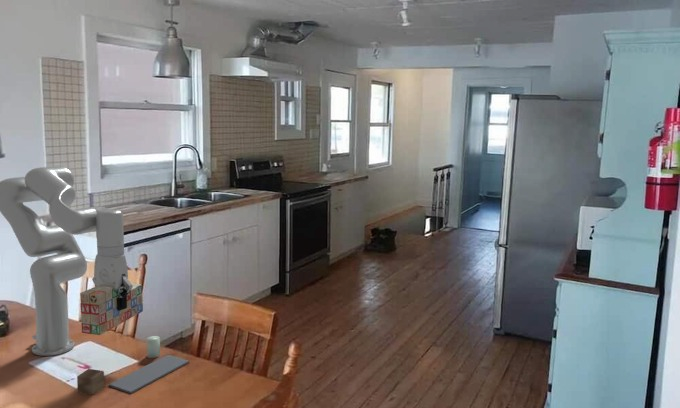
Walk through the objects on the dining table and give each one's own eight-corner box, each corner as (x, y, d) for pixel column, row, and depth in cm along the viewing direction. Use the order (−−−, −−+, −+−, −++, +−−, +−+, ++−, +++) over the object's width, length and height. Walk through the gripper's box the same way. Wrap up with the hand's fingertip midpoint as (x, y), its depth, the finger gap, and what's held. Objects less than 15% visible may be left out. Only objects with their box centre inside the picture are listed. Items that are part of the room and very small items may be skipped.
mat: (108, 386, 160) (108, 384, 160) (168, 356, 181) (168, 354, 181) (131, 393, 156) (131, 391, 156) (189, 362, 177) (189, 360, 177)
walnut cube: (77, 393, 155) (77, 376, 154) (89, 384, 160) (88, 368, 159) (93, 395, 154) (92, 378, 154) (104, 387, 159) (103, 371, 158)
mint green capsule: (144, 356, 180) (144, 339, 179) (153, 352, 184) (153, 335, 183) (153, 359, 178) (153, 341, 178) (162, 354, 182) (162, 337, 181)
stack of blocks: (126, 309, 180) (125, 273, 178) (143, 311, 178) (142, 275, 177) (81, 333, 159) (79, 292, 157) (100, 335, 158) (98, 294, 156)
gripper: (80, 249, 166) (83, 306, 168) (121, 256, 158) (123, 315, 160) (101, 245, 172) (103, 299, 175) (141, 251, 165) (143, 308, 167)
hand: (113, 306), depth 168 cm, fingers closed on stack of blocks, 7 cm apart
